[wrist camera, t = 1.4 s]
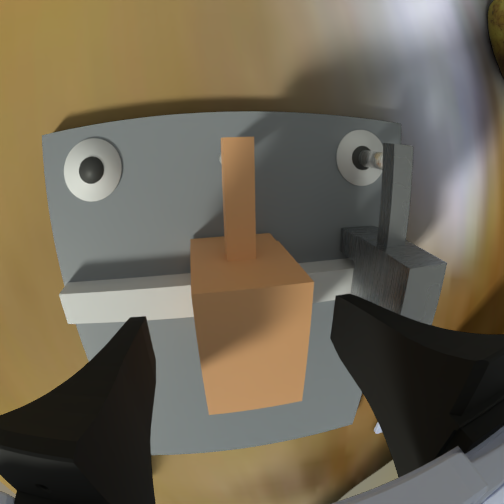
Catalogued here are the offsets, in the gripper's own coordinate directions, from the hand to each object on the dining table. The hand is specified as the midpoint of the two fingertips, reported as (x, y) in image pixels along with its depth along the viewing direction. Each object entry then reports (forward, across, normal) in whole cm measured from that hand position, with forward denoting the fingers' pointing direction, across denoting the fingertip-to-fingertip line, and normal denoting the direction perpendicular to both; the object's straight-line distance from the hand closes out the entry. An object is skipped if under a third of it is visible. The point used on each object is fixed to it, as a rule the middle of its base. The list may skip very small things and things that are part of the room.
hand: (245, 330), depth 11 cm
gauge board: (+5, 0, +3) cm, 6 cm away
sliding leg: (+4, 0, -2) cm, 4 cm away
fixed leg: (+4, -7, -2) cm, 8 cm away
